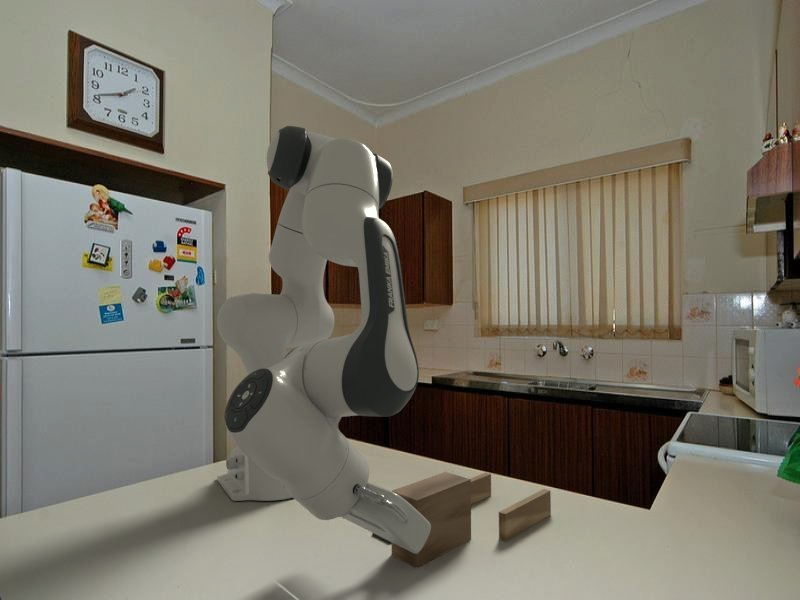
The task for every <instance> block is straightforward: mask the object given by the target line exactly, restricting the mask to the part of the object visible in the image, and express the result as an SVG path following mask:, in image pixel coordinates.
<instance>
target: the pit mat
mask: <svg viewBox="0 0 800 600" xmlns="http://www.w3.org/2000/svg"><path fill="white" fill-rule="evenodd" d="M371 533H372V532H371ZM372 536H373V537H375V538H377V539H380V540H382V541H384V542H385V543H388V544H389V545H390V544H392V542H390V541H388V540H386V539H384V538H382V537H380V536H378V535H376V534H374V533H372Z"/></svg>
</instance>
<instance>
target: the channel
mask: <svg viewBox="0 0 800 600" xmlns="http://www.w3.org/2000/svg"><path fill="white" fill-rule="evenodd" d="M470 479H471V505H473V504H475V503H478V502H480V501H482V500H484V499H487V498H488V497H491V496H492V473H488V472H483V473H481V474H478V475H476V476H473V477H471V478H470ZM551 504H552V502H551V490H550V489H546V488H543V489H541V490H539V491H537V492H534V493H533V494H530V495H529V496H527V497H525V498H523V499H521V500H519V501H517V502H515V503H513V504H511V505H510V506H508V507H506V508H504V509H502V510H500V511H498V540H501V541H504V542H507V541H509V540H510V539H512V538H514V537H516V536H517V535H519V534H520V533H522V532H524V531H526V530H527V529H529V528H531V527H532V526H534V525H535V524H537V523H539V522H541V521H542V520H544V519H545V518H547V517H549V516H550V515H552V508H551V507H552V505H551Z"/></svg>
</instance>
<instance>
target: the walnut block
mask: <svg viewBox="0 0 800 600" xmlns="http://www.w3.org/2000/svg"><path fill="white" fill-rule="evenodd" d="M391 491H392V492H394V493H396V494H398V495H399V496H401V497H402V498H403V499H405V500H406V501H407V502H408V503H410V504H411V505H412V506H413V507H414V508H415V509H416V510H417V511H418V512H419V513H420V514H421V515H423V516H424V517H425V518H426V519H427V520H428V521H429V523H430V524H431V530H430V533H429V536H428V538H427V540H426V542H425V544H424V546H423V548H422V549H421V551H420V552H419V553H417V554H415V553H412V552H410V551H408V550H406V549H404V548H402V547H400V546H398V545H396V544H394V543H391V556H392V557H394V558H397V559H399V560H400V561H402V562H404V563H406V564H408V565H410V566H412V567H414V568H415V569H419V568H421V567H422V566H424V565H426V564H428V563H430V562H432V561H434V560H435V559H437V558H439V557H441V556H443V555H444V554H446V553H447V552H449V551H452V550H453V549H455V548H457V547H459V546H460V545H463V544H465V543H466V542H468V541H471V540H472V504H471V478H468V477H465V476H461V475H457V474H453V473H451V472H447V471H444V472H441V473H439V474H436V475H433V476H429V477H427V478H425V479H421V480H418V481H415V482H412V483H410V484H407V485H404V486H402V487H398V488H396V489H392V490H391Z"/></svg>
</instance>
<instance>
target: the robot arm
mask: <svg viewBox="0 0 800 600" xmlns="http://www.w3.org/2000/svg"><path fill="white" fill-rule="evenodd" d="M266 166H267V175H268V176H269V178H270V180H271V182H272V183H274V184H275V185H277V186H279V187H280V188H282V189H284V190H286V191H288V192H287V195H286V198H285V200H284V201H283V205H282V207H281V211H280V214H279V216H278V220H277V225H276V228H275V231H274V234H273V235H274V236H273V237H272V238H273V239H272V243H271V247H270V251H269V253H268V261H269V264H270V266H271V269H272V271H274V273H276V275H278V276H279V277H280V278H281V280H282V287H281V292H280V294H276V293H275V294H272V293H255V292H252V293H245V294H240V295H235V296H234V295H233V296H230V297H228V298H227V299H226V300H225V301H224V302H223V303H222V305H221V306H220V308H219V309H218V310H219V311H218V314H217V315H216V316H217V317H216V325H217V326H216V327H217V331H218V334H219V335H220V337H221V339H222V341H223V342H224V343H225V344H226V345H227V346H229V347H230V348H231V349H233V350H234V352H235V353H236V354H237V355H238V356H239V358H240V359H241V361H242V363H243V366H244V367H245V370H246V373H247V375H246V376H245V377H244V378H243V379H242V380H241V381H240V382H239V383H238V384H237V385H236V387H235V388H234V390H233V391H232V392H231V395H230V396H229V398H228V400H227V402H226V406H225V409H224V414H223V415H224V417H223V418H224V424H225V427H226V431H227V433H228V434H229V436H230V438H231V439H232V441H233V442H234V443H235V444H236V446H235V447H234V448H233V449H231V451H230V452H229V453H230V454H229V457H227V458H226V460H225V463H226V464H225V466H226V469H227V470H225V471H223V472H221V473H219V474H217V477H216V481H217V482H218V484H220V485H221V487H222V489H223V490H224V491H225V492H226V494H227V495H228V497H229V498H230V499H231V500H232V501H235V502H238V501H239V502H240V501H259V502H260V501H264V502H267V501H268V502H269V501H280V500H281V501H283V500H287V499H292V498H293V499H294V500H295V501H296V502H298V503H299V504H300V505H301V506H302V507H304V509H306V510H307V511H308V512H309V513H310V514H311V515H313V517H315V518H316V519H318V520H321V521H330V520H333V519H337V518H342V519H344V520H346V521H348V522H350V523H353V524H354V525H356V526H358V527H360V528H363V529H364V530H366V531H368V532H370V533H374V534H376V535H378V536H380V537H382V538H384V539H386V540H388V541H390V542H392V543H394V544H396V545H398V546H400V547H402V548H404V549H406V550H408V551H410V552H412V553H415V554H417V553H419V552H420V551H421V549H422V548H423V546H424V544H425V542H426V540H427V538H428V536H429V533H430V530H431V524H430V523H429V521H428V520H427V519H426V518H425V517H424V516H423V515H421V514H420V513H419V512H418V511H417V510H416V509H415V508H414V507H413V506H412V505H411V504H410V503H408V502H407V501H406V500H405V499H403V498H402V497H401V496H399V495H398V494H396V493H394V492H392V490H390V489H387V488H385V487H382V486H380V485H377V484H374V483H371V482H370V481H369V478H370V466H369V462H368V460H367V459H366V457H365V456H364V455H363V454H362V453H361V452H360V451H359V450H358V448H356V446H354V444H353V443H351V441H350V440H349V439H348V438H347V437H346V436H345V435H344V434H343V433H342V432H341V431H340V429H339V423H340V422H341V419H342V418H343V417H351V416H352V417H355V416H361V417H382V418H383V417H384V418H385V417H386V418H387V417H392V416H395V415H397V414H398V413H399V412H401V411H402V410H403V408H404V407H405V406H406V405H407V403H408V402H409V401H410V400H411V398H412V396H413V395H414V392H415V390H416V389H417V386H418V383H419V376H420V375H419V374H420V372H419V363H418V358H417V353H416V350H415V348H414V347H415V346H414V345H413V341H412V336H411V334H410V330H409V329H410V328H409V323H408V315H407V314H408V313H407V308H406V307H407V305H406V299H405V291H404V282H403V275H402V274H403V273H402V267H401V260H400V255H399V249H398V245H397V244H398V243H397V241H396V238H395V236H394V233H393V231H392V229H391V228H390V227H389V225H388V224H387V223H386V222H385V221H384V220H382V219H381V218H380V216H379V213H380V211H379V210H380V209H381V208H383V206H384V205H385V204H386V202H387V200H388V198H389V196H390V194H391V191H392V187H393V180H394V171H393V169H392V166H391V163H390V162H389V161H388V160H387V159H385V158H384V157H382V156H380V155H379V154H377V153H372V151H371V150H370V149H369V148H368V147H367V146H366V145H365V144H364V143H362V142H360V141H358V140H356V139H353V138H347V137H346V138H345V137H343V138H341V137H340V138H336V137H332V136H330V135H329V136H328V135H326V134H323V133H318V132H314V131H309V130H306V128H304V127H301V126H296V125H286V126H285V127H282V128H279V130H278V131H277V134H275V136H274V137H273V138H272V140H271V141H270V143H269V145H268V148H267V152H266ZM328 261H330V262H332V263H335V264H337V265H340V266H345V267H355V268H357V269H358V280H359V290H360V291H359V293H360V294H359V295H360V305H361V306H360V307H361V321H360V324H359V325H358V327H357V328H356V329H355V330H354V331H353V332H352V333H351V334H347V335H343V336H338V337H334V338H330V337H331V335H332V334H333V331H334V328H335V319H336V318H335V315H334V310H333V308H332V307H331V305H330V304H329V302H327V299H326V297H325V292H324V278H325V277H324V275H325V269H326V265H327V262H328ZM287 348H289V349H291V350H289V352H288V353H287ZM292 348H293V349H292ZM392 543H391V544H392Z"/></svg>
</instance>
